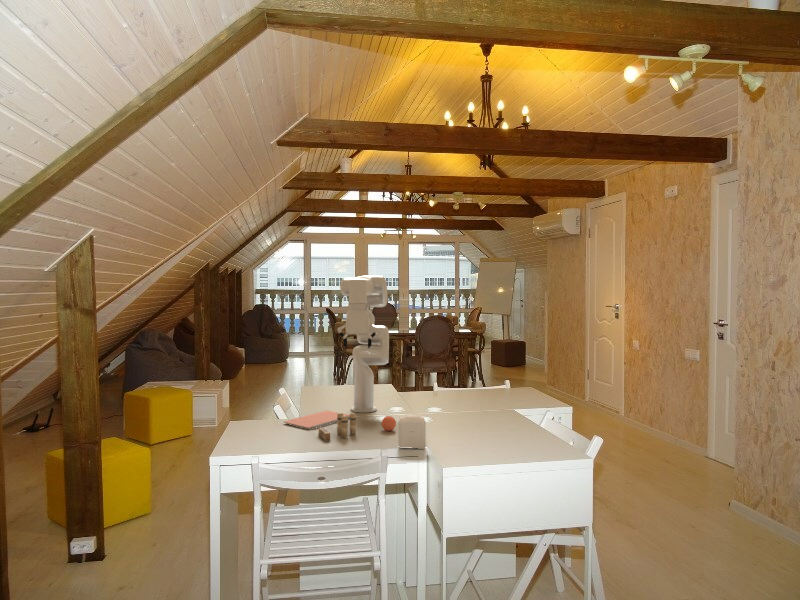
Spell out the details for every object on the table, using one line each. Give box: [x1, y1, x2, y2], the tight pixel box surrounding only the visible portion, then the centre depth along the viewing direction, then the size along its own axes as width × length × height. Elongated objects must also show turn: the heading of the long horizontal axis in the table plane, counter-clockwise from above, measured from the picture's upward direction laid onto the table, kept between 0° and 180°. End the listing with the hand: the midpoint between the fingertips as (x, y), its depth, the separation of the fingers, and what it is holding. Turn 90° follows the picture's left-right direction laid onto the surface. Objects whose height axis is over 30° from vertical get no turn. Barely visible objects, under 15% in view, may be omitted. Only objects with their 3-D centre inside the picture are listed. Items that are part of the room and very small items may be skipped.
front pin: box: [349, 412, 357, 436], centre depth 217 cm, size 2×2×8 cm
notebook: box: [283, 410, 350, 430], centre depth 238 cm, size 27×17×2 cm, turn 144°
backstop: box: [318, 427, 331, 441], centre depth 212 cm, size 9×2×3 cm, turn 26°
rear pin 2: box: [340, 416, 349, 439], centre depth 213 cm, size 2×2×8 cm
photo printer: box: [397, 414, 427, 450], centre depth 200 cm, size 10×4×12 cm, turn 89°
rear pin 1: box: [336, 412, 344, 436], centre depth 217 cm, size 2×2×8 cm
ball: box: [381, 415, 397, 432], centre depth 224 cm, size 6×6×6 cm
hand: (357, 348), depth 227 cm, fingers open, 9 cm apart
